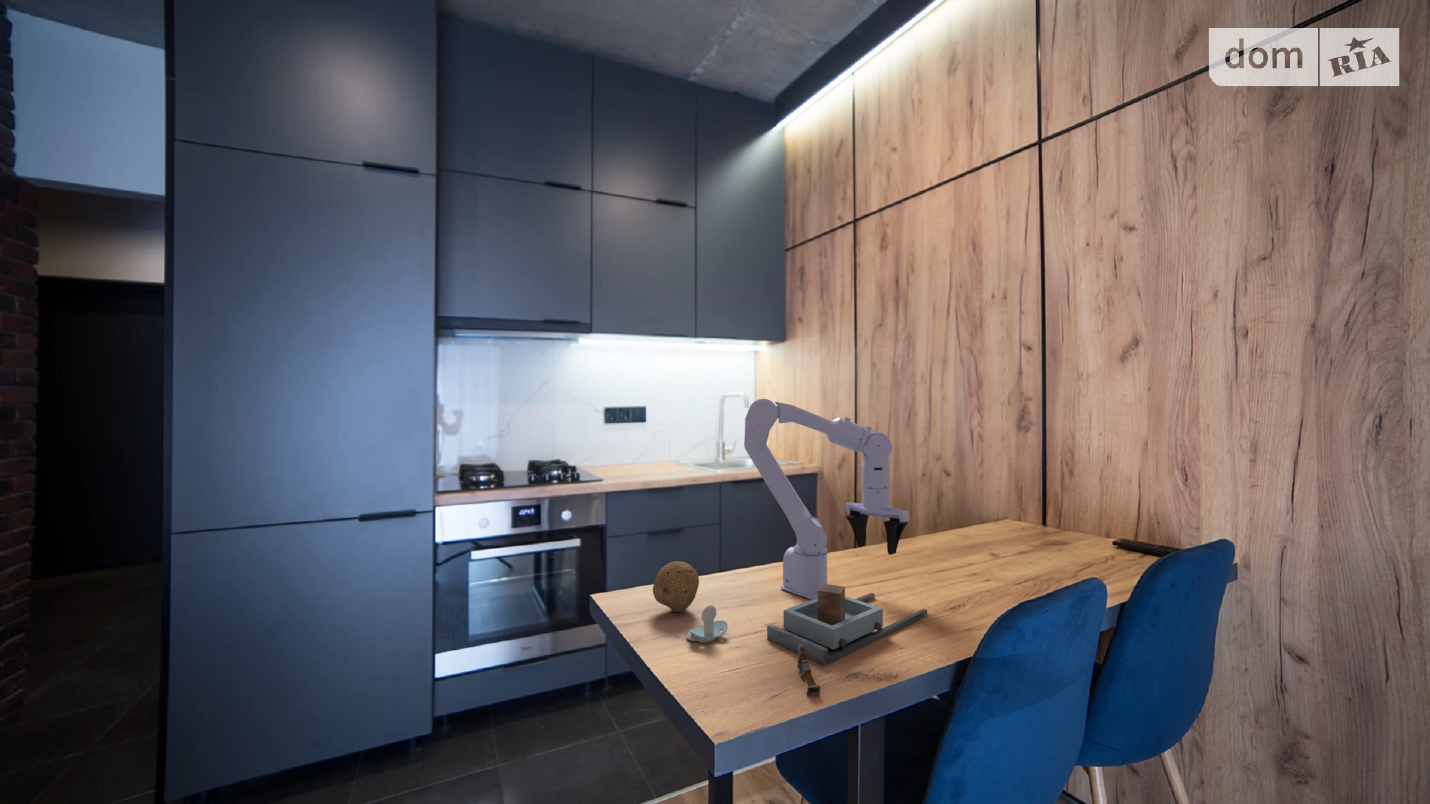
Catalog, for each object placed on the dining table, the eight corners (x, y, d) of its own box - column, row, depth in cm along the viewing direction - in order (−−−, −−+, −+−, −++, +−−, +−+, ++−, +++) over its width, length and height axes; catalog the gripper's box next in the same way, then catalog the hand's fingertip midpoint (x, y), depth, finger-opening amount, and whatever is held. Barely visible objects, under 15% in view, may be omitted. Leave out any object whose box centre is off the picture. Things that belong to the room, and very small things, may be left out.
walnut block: (817, 624, 95) (817, 590, 95) (823, 616, 98) (822, 583, 99) (840, 628, 93) (840, 593, 93) (845, 619, 97) (844, 586, 97)
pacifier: (678, 639, 95) (699, 650, 91) (677, 603, 96) (698, 612, 91) (710, 628, 100) (732, 637, 95) (709, 594, 100) (731, 602, 96)
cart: (780, 626, 96) (780, 609, 97) (830, 607, 105) (830, 591, 105) (837, 651, 87) (836, 631, 87) (886, 627, 96) (886, 609, 96)
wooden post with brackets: (803, 661, 85) (806, 639, 83) (817, 707, 77) (820, 685, 76) (792, 661, 85) (794, 640, 83) (805, 708, 77) (808, 686, 75)
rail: (767, 639, 94) (767, 625, 94) (871, 597, 114) (871, 586, 114) (824, 666, 85) (824, 650, 85) (927, 615, 104) (927, 602, 104)
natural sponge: (661, 624, 101) (660, 571, 101) (647, 608, 109) (646, 558, 110) (705, 616, 105) (705, 564, 105) (688, 600, 113) (688, 553, 113)
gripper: (916, 488, 114) (917, 553, 114) (858, 481, 125) (859, 540, 125) (897, 492, 109) (898, 559, 109) (839, 484, 120) (840, 545, 120)
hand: (876, 549), depth 117 cm, fingers open, 7 cm apart
